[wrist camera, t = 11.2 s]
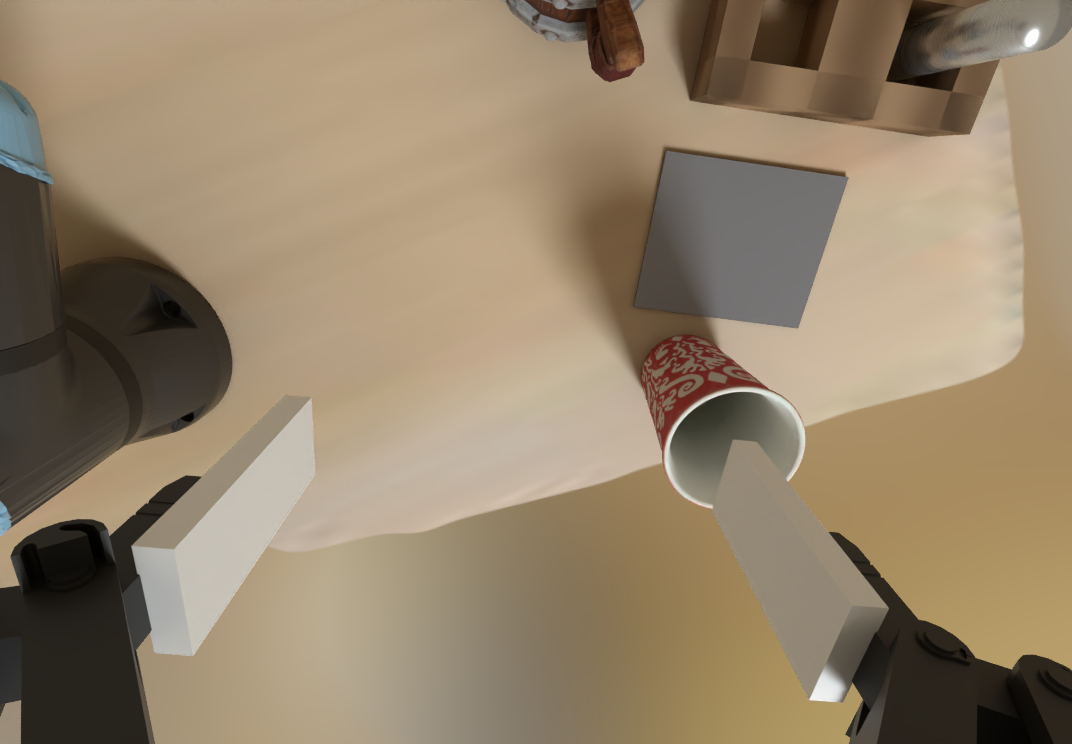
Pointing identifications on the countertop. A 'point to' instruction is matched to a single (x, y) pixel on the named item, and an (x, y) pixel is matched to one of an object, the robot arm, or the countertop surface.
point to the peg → (980, 36)
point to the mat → (736, 239)
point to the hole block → (840, 68)
